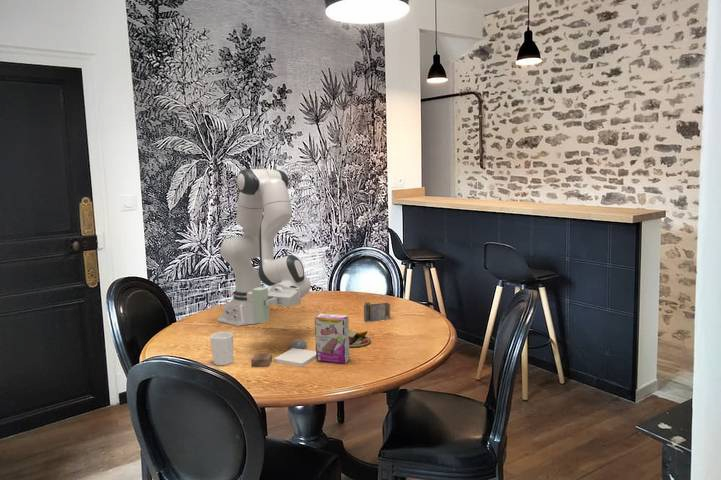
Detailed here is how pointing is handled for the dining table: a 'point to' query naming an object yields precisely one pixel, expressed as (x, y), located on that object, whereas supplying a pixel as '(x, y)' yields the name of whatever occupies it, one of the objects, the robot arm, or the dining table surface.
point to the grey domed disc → (299, 344)
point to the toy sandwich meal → (358, 339)
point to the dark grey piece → (376, 311)
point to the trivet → (296, 357)
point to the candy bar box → (332, 338)
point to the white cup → (222, 348)
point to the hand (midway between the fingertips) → (259, 302)
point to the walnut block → (261, 360)
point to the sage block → (260, 305)
